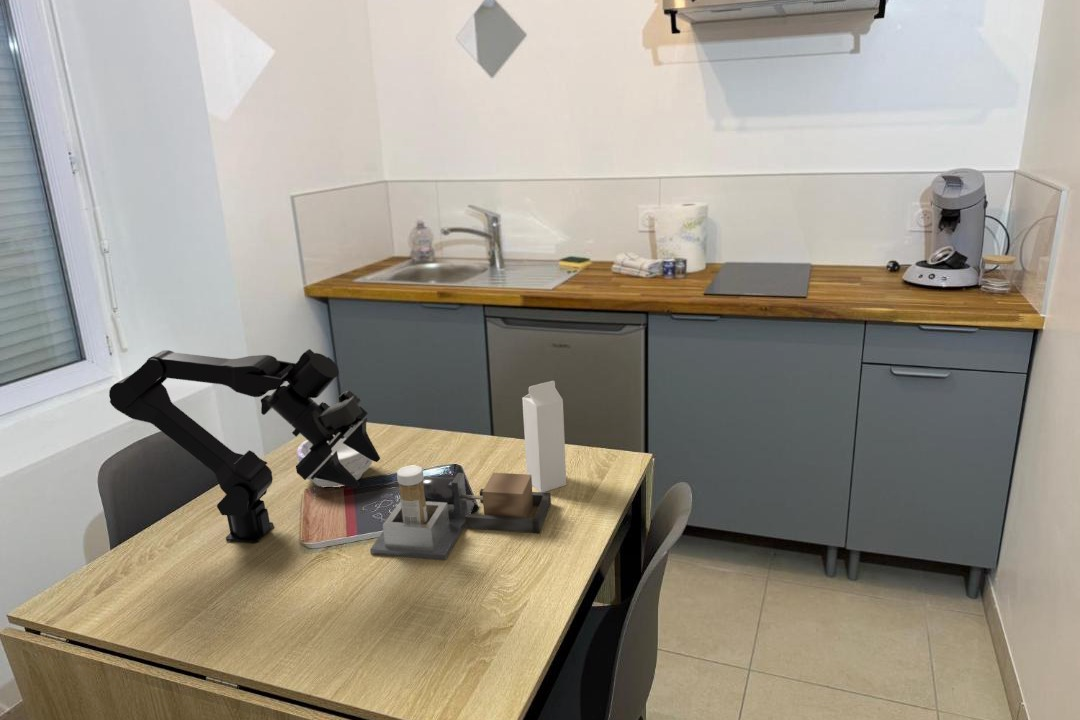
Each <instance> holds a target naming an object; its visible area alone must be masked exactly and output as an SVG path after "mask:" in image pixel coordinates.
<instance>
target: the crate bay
mask: <svg viewBox="0 0 1080 720" xmlns="http://www.w3.org/2000/svg"><path fill="white" fill-rule="evenodd" d="M479 496H483V500H480V501H479V502H480V503H482V505H483V513H484V514H481V513H479V514H478V513H472V514H466V516H465V521H466V525H465V528H466V529H474V530H475V529H476V530H487V531H501V532H504V531H505V532H516V533H526V534H527V533H529V534H541V530H542V528H543V526H544V523H545V521H546V519H547V518H546V517H547V515H548V512H549V509H550V507H551V505H552V498H551V497H552V496H551V493H550V492H540V491H538V492H537V491H533V486H532V477H531V475H528V474H527V473H526V474H524V473H523V474H522V473H509V472H508V473H506V472H492V474H491V476H490V477H489V478H488V481H487V482H486V484H485V486H484V488H481V489H480V490H479ZM534 507H537V509H536V511H535V514H534V516H533V517H530V515H531V514H532V511H533V509H534Z"/></svg>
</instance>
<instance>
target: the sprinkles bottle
mask: <svg viewBox="0 0 1080 720" xmlns="http://www.w3.org/2000/svg"><path fill="white" fill-rule="evenodd" d="M396 475H397V477H396V479H397V483H398V485H399V494H400V496H399V497H400V501H401V507H402V516H403V523H414V524H427V523H428V521H427V509H426V501H425V495H424V486H423V479H424V477H425V475H424V469H423V468H422V467H421V466H419V465H412V464H411V465H406V466H402V467H401V468H399V469H398V470H397V471H396Z"/></svg>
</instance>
